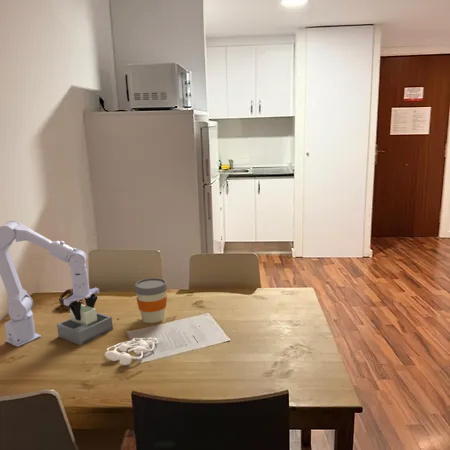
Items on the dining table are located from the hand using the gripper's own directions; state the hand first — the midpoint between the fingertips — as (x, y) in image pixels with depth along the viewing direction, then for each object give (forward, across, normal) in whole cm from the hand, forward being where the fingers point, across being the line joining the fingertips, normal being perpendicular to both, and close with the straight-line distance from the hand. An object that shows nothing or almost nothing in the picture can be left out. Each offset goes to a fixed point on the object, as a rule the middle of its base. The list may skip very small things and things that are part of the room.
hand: (84, 317), depth 167 cm
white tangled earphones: (+7, -2, -26) cm, 27 cm away
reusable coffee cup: (+7, +23, -13) cm, 27 cm away
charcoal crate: (+6, 0, 0) cm, 6 cm away
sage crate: (+2, 0, 0) cm, 2 cm away
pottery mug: (+7, +16, +29) cm, 33 cm away
